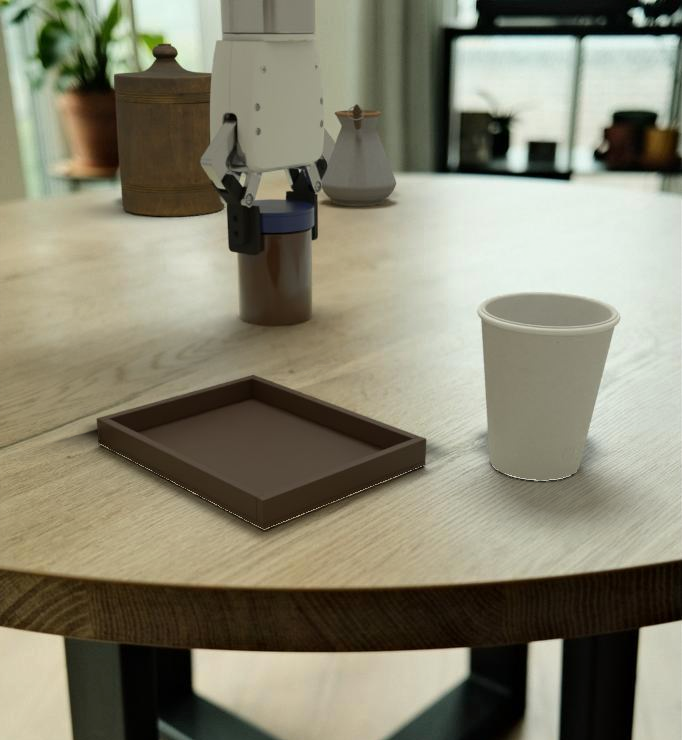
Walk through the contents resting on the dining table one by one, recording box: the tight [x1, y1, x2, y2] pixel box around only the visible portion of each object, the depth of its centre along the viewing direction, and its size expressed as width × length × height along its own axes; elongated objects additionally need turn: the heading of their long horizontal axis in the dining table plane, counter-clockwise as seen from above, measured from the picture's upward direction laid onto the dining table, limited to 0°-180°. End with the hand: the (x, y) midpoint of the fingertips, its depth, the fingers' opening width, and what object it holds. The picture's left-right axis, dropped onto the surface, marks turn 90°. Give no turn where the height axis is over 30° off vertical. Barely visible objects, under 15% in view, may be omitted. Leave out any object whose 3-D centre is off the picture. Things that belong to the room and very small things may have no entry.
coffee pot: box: [321, 103, 397, 207], centre depth 147 cm, size 21×12×15 cm, turn 178°
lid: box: [253, 198, 314, 233], centre depth 88 cm, size 7×7×2 cm
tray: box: [96, 374, 427, 529], centre depth 65 cm, size 17×13×2 cm
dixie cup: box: [476, 291, 621, 480], centre depth 63 cm, size 8×8×10 cm
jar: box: [236, 227, 313, 327], centre depth 90 cm, size 7×7×10 cm
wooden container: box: [113, 43, 225, 217], centre depth 145 cm, size 15×15×22 cm
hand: (274, 243), depth 89 cm, fingers closed on lid, 7 cm apart
